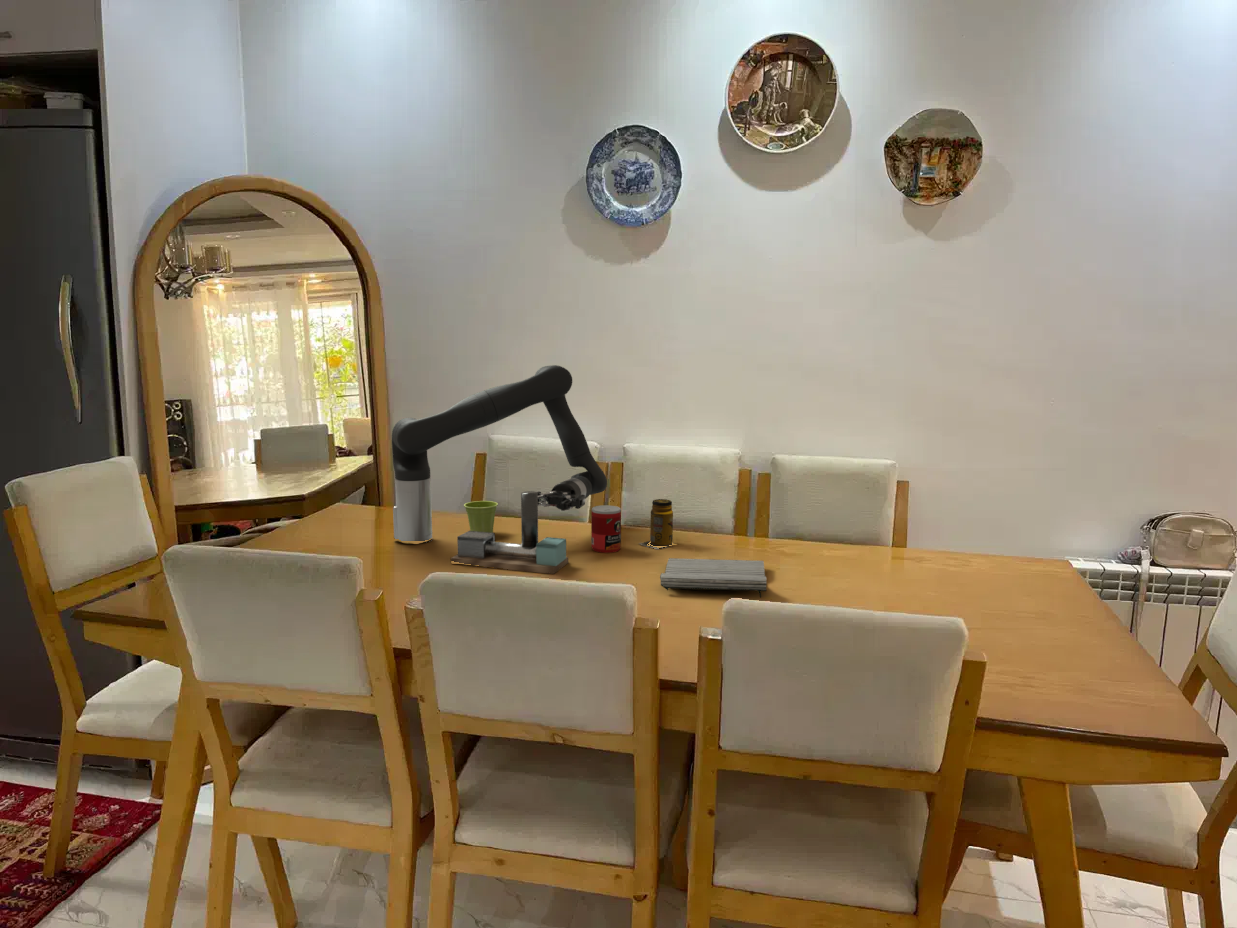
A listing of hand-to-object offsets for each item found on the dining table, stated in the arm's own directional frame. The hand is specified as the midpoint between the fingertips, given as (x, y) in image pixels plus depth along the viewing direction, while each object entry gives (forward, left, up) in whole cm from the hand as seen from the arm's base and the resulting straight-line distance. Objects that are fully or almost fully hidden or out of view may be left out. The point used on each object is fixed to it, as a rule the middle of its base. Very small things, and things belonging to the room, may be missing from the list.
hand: (546, 505), depth 209 cm
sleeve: (-14, -11, -11) cm, 21 cm away
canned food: (+13, +9, -13) cm, 20 cm away
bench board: (-5, -11, -13) cm, 18 cm away
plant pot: (-25, +13, -13) cm, 31 cm away
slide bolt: (-3, -11, -11) cm, 16 cm away
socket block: (+6, -11, -11) cm, 17 cm away
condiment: (+25, +18, -13) cm, 33 cm away
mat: (+45, -9, -13) cm, 48 cm away
